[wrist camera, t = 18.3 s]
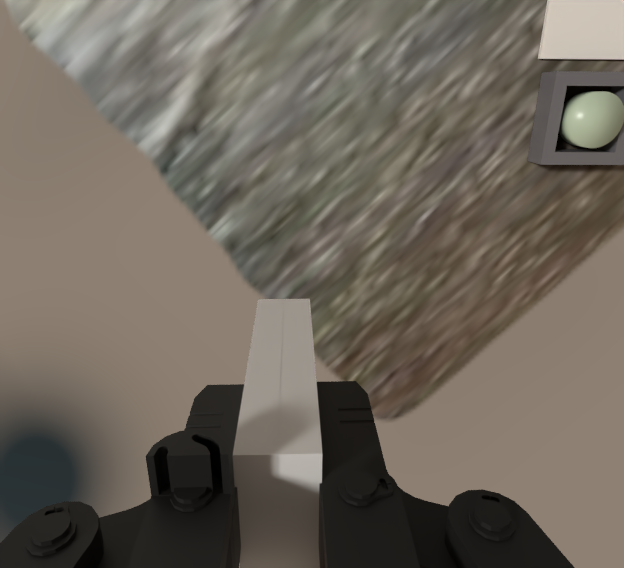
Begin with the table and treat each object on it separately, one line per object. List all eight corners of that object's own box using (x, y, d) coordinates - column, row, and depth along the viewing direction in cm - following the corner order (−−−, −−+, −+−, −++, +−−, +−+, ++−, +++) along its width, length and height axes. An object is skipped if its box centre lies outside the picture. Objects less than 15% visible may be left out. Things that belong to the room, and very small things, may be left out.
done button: (563, 91, 39) (576, 91, 37) (614, 91, 39) (630, 91, 37) (553, 145, 41) (565, 148, 39) (602, 145, 41) (617, 148, 39)
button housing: (541, 72, 40) (556, 71, 37) (626, 73, 40) (645, 72, 38) (527, 160, 42) (540, 164, 40) (606, 161, 42) (624, 164, 40)
